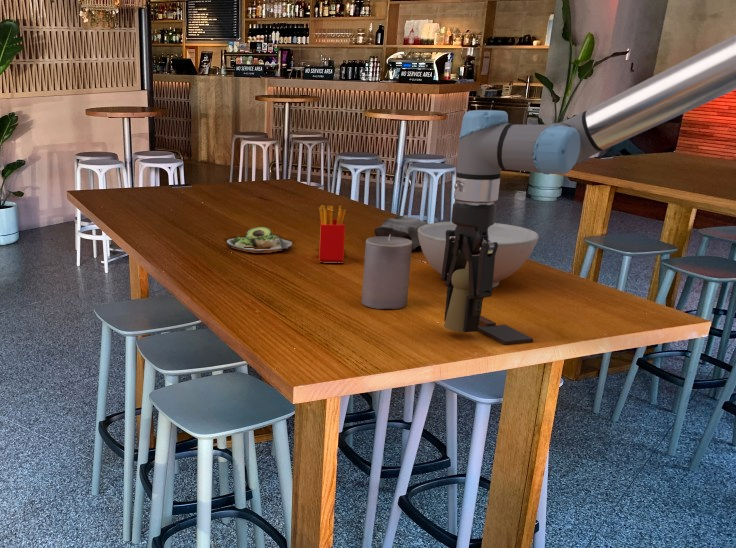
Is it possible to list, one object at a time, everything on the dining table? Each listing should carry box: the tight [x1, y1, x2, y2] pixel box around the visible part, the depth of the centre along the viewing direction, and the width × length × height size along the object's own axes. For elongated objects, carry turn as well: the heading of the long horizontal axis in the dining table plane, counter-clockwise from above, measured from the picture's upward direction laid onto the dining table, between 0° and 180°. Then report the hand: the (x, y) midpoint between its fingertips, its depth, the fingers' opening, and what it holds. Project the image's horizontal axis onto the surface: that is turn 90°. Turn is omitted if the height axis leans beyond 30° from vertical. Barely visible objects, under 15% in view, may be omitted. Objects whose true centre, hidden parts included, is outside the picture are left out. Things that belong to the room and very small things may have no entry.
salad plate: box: [226, 226, 293, 252], centre depth 223 cm, size 19×18×5 cm
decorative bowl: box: [418, 221, 540, 289], centre depth 185 cm, size 27×27×12 cm
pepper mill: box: [443, 269, 470, 333], centre depth 147 cm, size 6×6×11 cm
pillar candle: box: [361, 234, 413, 310], centre depth 168 cm, size 10×10×15 cm
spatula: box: [477, 315, 534, 346], centre depth 154 cm, size 18×6×1 cm, turn 15°
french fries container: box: [318, 204, 348, 263], centre depth 207 cm, size 7×9×14 cm
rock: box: [373, 215, 429, 251], centre depth 224 cm, size 18×11×8 cm, turn 18°
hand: (460, 325), depth 149 cm, fingers closed on pepper mill, 6 cm apart
